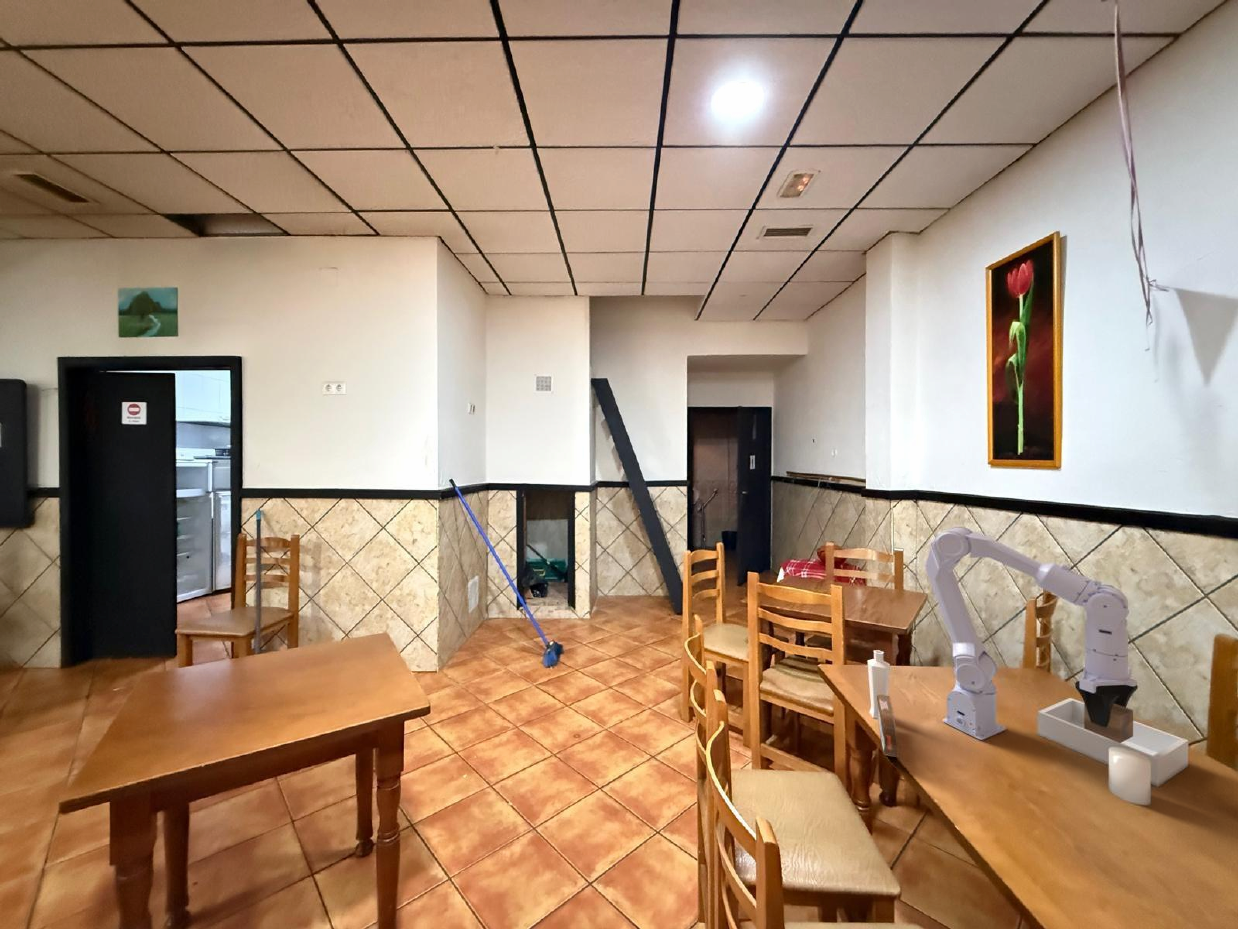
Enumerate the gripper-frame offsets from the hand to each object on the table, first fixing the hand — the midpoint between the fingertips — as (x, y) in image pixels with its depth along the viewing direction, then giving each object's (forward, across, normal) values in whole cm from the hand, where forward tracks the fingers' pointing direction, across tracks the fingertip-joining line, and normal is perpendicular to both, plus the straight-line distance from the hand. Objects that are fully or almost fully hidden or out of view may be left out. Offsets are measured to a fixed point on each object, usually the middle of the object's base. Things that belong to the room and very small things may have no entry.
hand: (1106, 720), depth 88 cm
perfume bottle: (+10, -23, +31) cm, 39 cm away
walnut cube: (+2, 0, 0) cm, 2 cm away
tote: (+10, +9, +3) cm, 13 cm away
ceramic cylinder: (+10, -5, -5) cm, 12 cm away
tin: (+10, -30, +23) cm, 39 cm away
